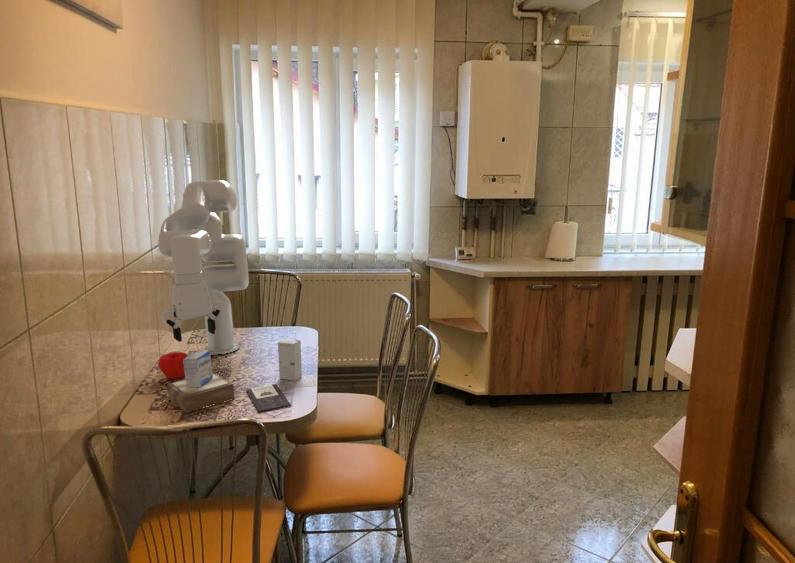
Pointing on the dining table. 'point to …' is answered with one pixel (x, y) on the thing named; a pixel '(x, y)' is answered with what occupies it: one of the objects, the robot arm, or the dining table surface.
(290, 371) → the skincare box
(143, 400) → the dining table surface
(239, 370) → the dining table surface
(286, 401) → the chocolate bar
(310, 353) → the dining table surface
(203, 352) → the medicine box
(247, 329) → the dining table surface
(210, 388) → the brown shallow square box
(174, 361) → the apple
